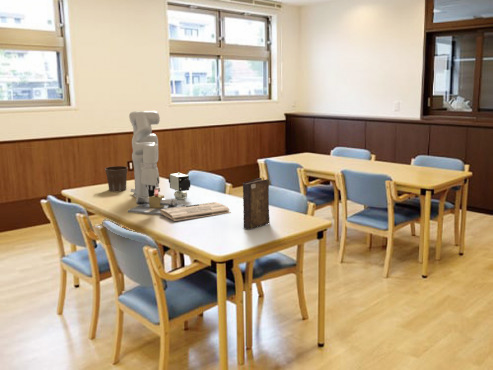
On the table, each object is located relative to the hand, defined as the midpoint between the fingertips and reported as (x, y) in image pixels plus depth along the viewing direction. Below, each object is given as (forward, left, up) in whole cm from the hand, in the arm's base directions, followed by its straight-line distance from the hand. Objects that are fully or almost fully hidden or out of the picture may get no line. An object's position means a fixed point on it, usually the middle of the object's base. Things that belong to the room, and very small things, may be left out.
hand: (151, 196), depth 284 cm
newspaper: (+25, +7, -10) cm, 28 cm away
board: (-2, +10, -10) cm, 14 cm away
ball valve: (-1, +40, -11) cm, 41 cm away
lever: (+1, +5, +1) cm, 5 cm away
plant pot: (-57, +51, -11) cm, 77 cm away
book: (+66, -6, -11) cm, 67 cm away
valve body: (-2, +10, -9) cm, 14 cm away
